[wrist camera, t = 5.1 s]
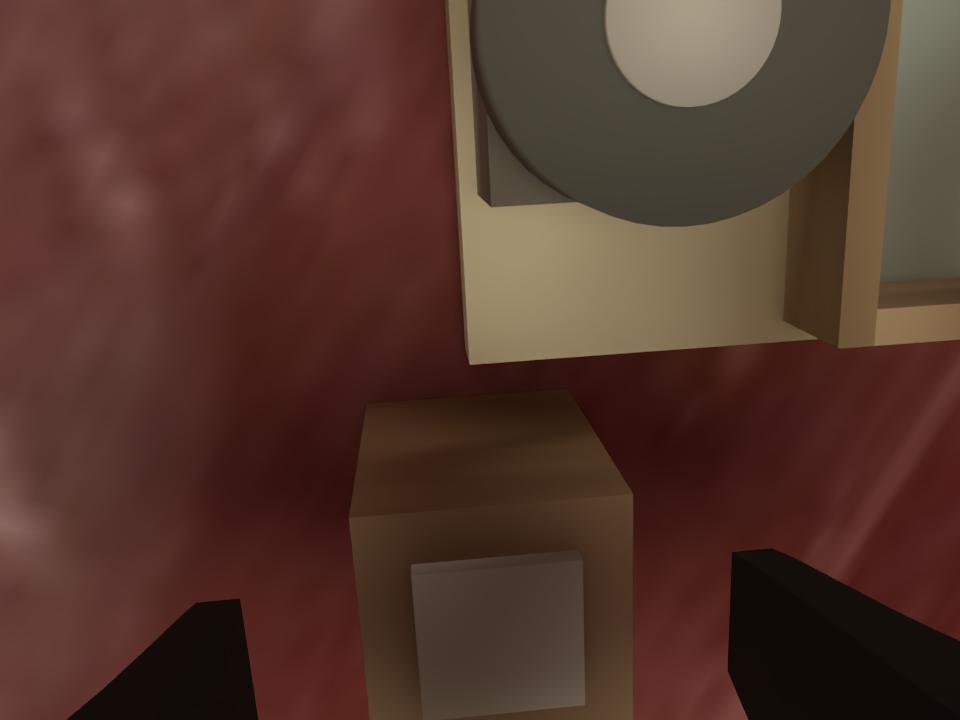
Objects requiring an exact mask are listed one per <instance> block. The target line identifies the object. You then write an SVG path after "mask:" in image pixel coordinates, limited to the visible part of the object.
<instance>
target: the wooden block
mask: <svg viewBox="0 0 960 720" xmlns="http://www.w3.org/2000/svg"><path fill="white" fill-rule="evenodd" d="M349 525H350V535H351V544H352V554H353V563H354V573H355V582H356V592H357V602H358V611H359V621H360V630H361V640H362V649H363V659H364V668H365V678H366V687H367V697H368V706H369V716H370V720H633V493H632V491H631V490H630V488H629V487H628V485H627V483H626V482H625V480H624V479H623V477H622V475H621V474H620V472H619V470H618V469H617V467H616V466H615V464H614V462H613V461H612V459H611V458H610V456H609V454H608V453H607V451H606V449H605V448H604V446H603V445H602V443H601V441H600V440H599V438H598V437H597V435H596V433H595V432H594V430H593V428H592V427H591V425H590V424H589V422H588V420H587V419H586V417H585V416H584V414H583V412H582V411H581V409H580V407H579V406H578V404H577V403H576V401H575V399H574V398H573V396H572V395H571V393H570V391H569V390H568V388H564V389H551V390H538V391H525V392H511V393H498V394H485V395H472V396H458V397H445V398H432V399H419V400H405V401H392V402H379V403H367V404H366V411H365V417H364V424H363V430H362V436H361V443H360V449H359V456H358V462H357V468H356V475H355V481H354V488H353V494H352V500H351V507H350V513H349Z"/></svg>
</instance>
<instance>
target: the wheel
mask: <svg viewBox="0 0 960 720" xmlns="http://www.w3.org/2000/svg"><path fill="white" fill-rule="evenodd" d="M890 8H891V0H472V5H471V13H470V45H471V54H472V63H473V69H474V73H475V77H476V81H477V85H478V89H479V92H480V95H481V98H482V100H483V103H484V106H485V108H486V111H487V113H488V115H489V117H490V119H491V121H492V123H493V125H494V127H495V128H496V130H497V132H498V134H499V135H500V137H501V138H502V140H503V141H504V143H505V144H506V145H507V147H508V148H509V150H510V151H511V152H512V154H513V155H514V156H515V157H516V158H517V159H518V160H519V161H520V162H521V163H522V164H523V165H524V167H525V168H526V169H527V170H528V171H530V172H531V173H532V174H533V175H534V176H536V177H537V178H538V179H539V180H540V181H542V182H543V183H544V184H545V185H547V186H549V187H550V188H552V189H554V190H555V191H557V192H558V193H560V194H562V195H563V196H565V197H568V198H570V199H572V200H574V201H577V202H579V203H581V204H583V205H586V206H588V207H590V208H593V209H595V210H598V211H600V212H602V213H605V214H607V215H610V216H612V217H616V218H619V219H623V220H626V221H630V222H633V223H638V224H645V225H652V226H659V227H688V226H695V225H703V224H710V223H714V222H718V221H722V220H725V219H729V218H733V217H736V216H739V215H741V214H743V213H746V212H748V211H751V210H753V209H756V208H758V207H760V206H762V205H764V204H765V203H767V202H769V201H771V200H773V199H774V198H776V197H778V196H780V195H781V194H783V193H784V192H786V191H787V190H788V189H790V188H791V187H792V186H794V185H795V184H796V183H798V182H799V181H801V180H802V179H803V178H804V177H805V176H806V175H807V174H809V173H810V172H811V171H812V170H813V169H814V168H815V167H816V166H817V165H818V164H819V163H820V162H821V161H822V160H823V159H824V158H825V157H826V156H827V155H828V153H829V152H830V151H831V150H832V149H833V148H834V146H835V145H836V144H837V143H838V142H839V140H840V139H841V138H842V136H843V135H844V133H845V132H846V130H847V129H848V127H849V126H850V124H851V123H852V121H853V120H854V118H855V117H856V115H857V113H858V111H859V109H860V108H861V106H862V104H863V102H864V100H865V98H866V96H867V94H868V92H869V90H870V87H871V85H872V82H873V79H874V77H875V74H876V72H877V69H878V66H879V64H880V60H881V56H882V52H883V48H884V44H885V40H886V36H887V30H888V22H889V15H890Z"/></svg>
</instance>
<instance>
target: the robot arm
mask: <svg viewBox="0 0 960 720" xmlns="http://www.w3.org/2000/svg"><path fill="white" fill-rule="evenodd" d="M728 672H729V675H730V677H731V680H732V682H733V685H734V687H735V689H736V692H737V694H738V697H739V699H740V701H741V704H742V706H743V708H744V711H745V713H746V715H747V717H748V719H749V720H960V641H958V640H956V639H954V638H952V637H950V636H947V635H945V634H943V633H941V632H939V631H937V630H934V629H932V628H930V627H928V626H926V625H924V624H922V623H919V622H917V621H915V620H913V619H911V618H909V617H907V616H905V615H903V614H901V613H899V612H897V611H895V610H893V609H891V608H889V607H887V606H885V605H883V604H881V603H879V602H877V601H875V600H874V599H872V598H870V597H868V596H866V595H864V594H862V593H860V592H858V591H856V590H854V589H852V588H851V587H849V586H847V585H845V584H843V583H841V582H839V581H837V580H835V579H834V578H832V577H830V576H828V575H826V574H824V573H822V572H820V571H818V570H816V569H815V568H813V567H811V566H809V565H807V564H805V563H803V562H801V561H799V560H797V559H795V558H793V557H791V556H789V555H786V554H784V553H782V552H779V551H777V550H775V549H772V548H771V549H761V550H750V551H740V552H732V569H731V596H730V623H729V649H728ZM67 720H258V715H257V708H256V702H255V695H254V689H253V682H252V675H251V669H250V662H249V656H248V649H247V642H246V636H245V629H244V623H243V616H242V610H241V603H240V599H232V600H221V601H211V602H200V603H196V604H194V605H193V606H192V607H191V608H190V609H189V610H187V611H186V612H185V613H184V614H183V615H182V616H181V617H180V618H179V619H178V620H177V621H175V622H174V623H173V624H172V625H171V626H170V627H169V628H168V629H167V630H166V631H165V632H164V633H163V634H162V635H161V636H160V637H159V638H158V639H157V640H155V641H154V642H153V643H152V644H151V645H150V646H149V647H148V648H147V649H146V650H145V651H144V652H143V653H142V654H141V655H140V656H138V657H137V658H136V659H135V660H134V661H133V662H132V663H131V664H130V665H129V666H128V667H127V668H125V669H124V670H123V671H122V672H121V673H120V674H119V675H118V676H117V677H116V678H115V679H114V680H112V681H111V682H110V683H109V684H108V685H107V686H106V687H105V688H104V689H103V690H101V691H100V692H99V693H98V694H97V695H95V696H94V697H93V698H92V699H91V700H90V701H88V702H87V703H86V704H85V705H84V706H82V707H81V708H80V709H79V710H78V711H76V712H75V713H74V714H73V715H72V716H71V717H69V718H68V719H67Z"/></svg>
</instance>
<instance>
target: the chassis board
mask: <svg viewBox="0 0 960 720" xmlns="http://www.w3.org/2000/svg"><path fill="white" fill-rule="evenodd" d="M471 5H472V0H445V16H446V33H447V50H448V66H449V83H450V100H451V117H452V134H453V151H454V168H455V185H456V202H457V218H458V235H459V252H460V269H461V286H462V303H463V320H464V337H465V349H466V353H467V357H468V361H469V364H470V365H474V364H488V363H501V362H515V361H528V360H542V359H555V358H569V357H582V356H596V355H610V354H623V353H637V352H650V351H664V350H677V349H691V348H704V347H718V346H731V345H745V344H758V343H772V342H785V341H799V340H812V339H820V340H822V341H824V342H826V343H828V344H830V345H832V346H834V347H836V348H838V349H840V348H853V347H867V346H880V345H893V344H907V343H920V342H933V341H947V340H960V0H891V8H890V15H889V22H888V30H887V36H886V40H885V44H884V48H883V52H882V56H881V60H880V64H879V66H878V69H877V72H876V74H875V77H874V79H873V82H872V85H871V87H870V90H869V92H868V94H867V96H866V98H865V100H864V102H863V104H862V106H861V108H860V109H859V111H858V113H857V115H856V117H855V118H854V120H853V121H852V123H851V124H850V126H849V127H848V129H847V130H846V132H845V133H844V135H843V136H842V138H841V139H840V140H839V142H838V143H837V144H836V145H835V146H834V148H833V149H832V150H831V151H830V152H829V153H828V155H827V156H826V157H825V158H824V159H823V160H822V161H821V162H820V163H819V164H818V165H817V166H816V167H815V168H814V169H813V170H812V171H811V172H810V173H809V174H807V175H806V176H805V177H804V178H803V179H802V180H801V181H799V182H798V183H796V184H795V185H794V186H792V187H791V188H790V189H788V190H787V191H786V192H784V193H783V194H781V195H780V196H778V197H776V198H774V199H773V200H771V201H769V202H767V203H765V204H764V205H762V206H760V207H758V208H756V209H753V210H751V211H748V212H746V213H743V214H741V215H739V216H736V217H733V218H729V219H725V220H722V221H718V222H714V223H710V224H703V225H695V226H688V227H659V226H652V225H645V224H638V223H633V222H630V221H626V220H623V219H619V218H616V217H612V216H610V215H607V214H605V213H602V212H600V211H598V210H595V209H593V208H590V207H588V206H586V205H583V204H581V203H579V202H577V201H574V200H572V199H570V198H568V197H565V196H563V195H562V194H560V193H558V192H557V191H555V190H554V189H552V188H550V187H549V186H547V185H545V184H544V183H543V182H542V181H540V180H539V179H538V178H537V177H536V176H534V175H533V174H532V173H531V172H530V171H528V170H527V169H526V168H525V167H524V165H523V164H522V163H521V162H520V161H519V160H518V159H517V158H516V157H515V156H514V155H513V154H512V152H511V151H510V150H509V148H508V147H507V145H506V144H505V143H504V141H503V140H502V138H501V137H500V135H499V134H498V132H497V130H496V128H495V127H494V125H493V123H492V121H491V119H490V117H489V115H488V113H487V111H486V108H485V106H484V103H483V100H482V98H481V95H480V92H479V89H478V85H477V81H476V77H475V73H474V69H473V63H472V54H471V45H470V13H471Z"/></svg>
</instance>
